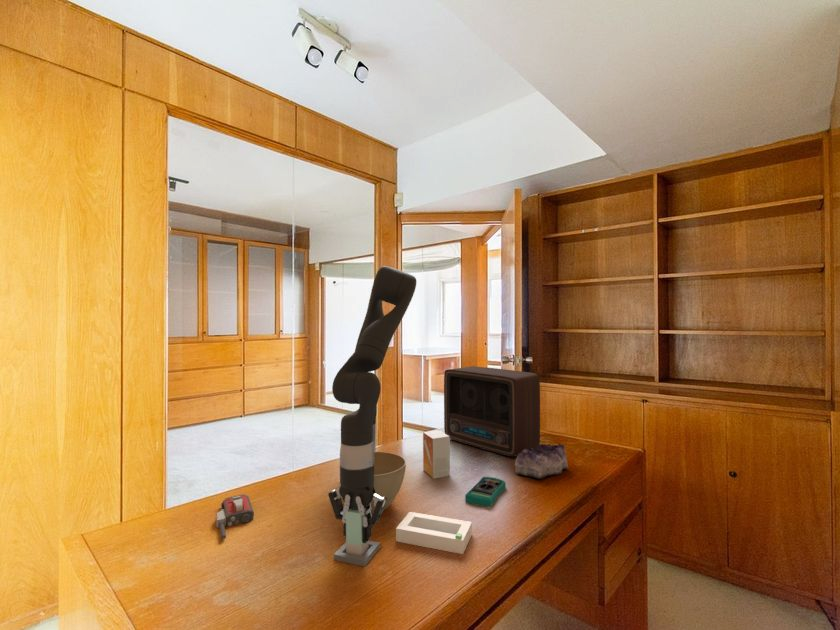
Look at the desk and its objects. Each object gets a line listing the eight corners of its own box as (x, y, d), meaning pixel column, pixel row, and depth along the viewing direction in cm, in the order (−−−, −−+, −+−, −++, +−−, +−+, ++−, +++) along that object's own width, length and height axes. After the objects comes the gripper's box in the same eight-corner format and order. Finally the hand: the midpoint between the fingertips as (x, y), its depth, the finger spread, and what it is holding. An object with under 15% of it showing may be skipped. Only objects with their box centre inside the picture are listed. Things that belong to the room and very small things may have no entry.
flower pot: (333, 499, 121) (333, 456, 121) (393, 488, 128) (392, 448, 128) (348, 528, 104) (348, 479, 104) (416, 514, 111) (415, 468, 111)
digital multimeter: (506, 488, 128) (506, 478, 128) (490, 509, 115) (490, 498, 115) (482, 484, 132) (482, 474, 132) (464, 504, 118) (464, 493, 118)
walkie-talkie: (213, 509, 115) (218, 544, 98) (213, 493, 115) (218, 525, 98) (248, 502, 120) (258, 534, 102) (247, 487, 120) (258, 516, 102)
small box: (422, 470, 143) (422, 431, 143) (439, 467, 145) (439, 429, 145) (432, 478, 135) (432, 438, 135) (450, 475, 138) (450, 436, 138)
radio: (441, 440, 177) (440, 368, 177) (468, 432, 189) (468, 365, 189) (513, 462, 150) (513, 378, 150) (540, 451, 162) (540, 373, 162)
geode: (547, 460, 152) (551, 434, 151) (574, 475, 142) (578, 446, 142) (507, 470, 141) (510, 441, 140) (533, 486, 131) (537, 455, 130)
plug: (346, 556, 92) (345, 511, 92) (354, 548, 95) (354, 504, 95) (360, 559, 91) (360, 513, 91) (368, 551, 94) (368, 506, 94)
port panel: (396, 541, 98) (395, 525, 98) (409, 523, 106) (409, 509, 106) (462, 554, 93) (462, 537, 93) (471, 534, 101) (471, 519, 101)
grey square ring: (334, 559, 91) (334, 554, 91) (351, 542, 98) (351, 537, 98) (364, 566, 88) (364, 560, 88) (379, 548, 95) (379, 542, 95)
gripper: (319, 463, 92) (320, 542, 92) (378, 471, 87) (379, 555, 87) (337, 453, 99) (338, 526, 99) (393, 460, 94) (393, 536, 94)
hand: (357, 539), depth 93 cm, fingers closed on plug, 3 cm apart
